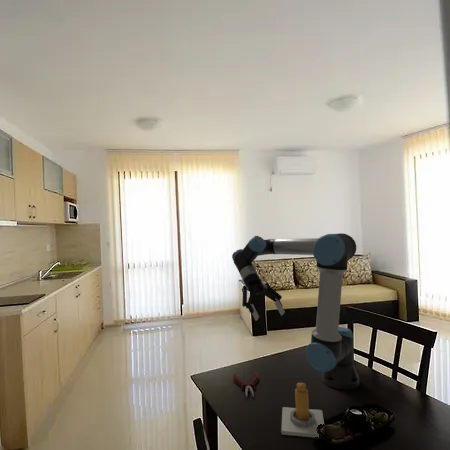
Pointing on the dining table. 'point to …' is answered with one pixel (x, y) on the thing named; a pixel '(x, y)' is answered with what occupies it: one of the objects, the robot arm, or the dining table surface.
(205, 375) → the dining table surface
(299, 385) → the orange peg
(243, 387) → the pliers
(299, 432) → the plate
